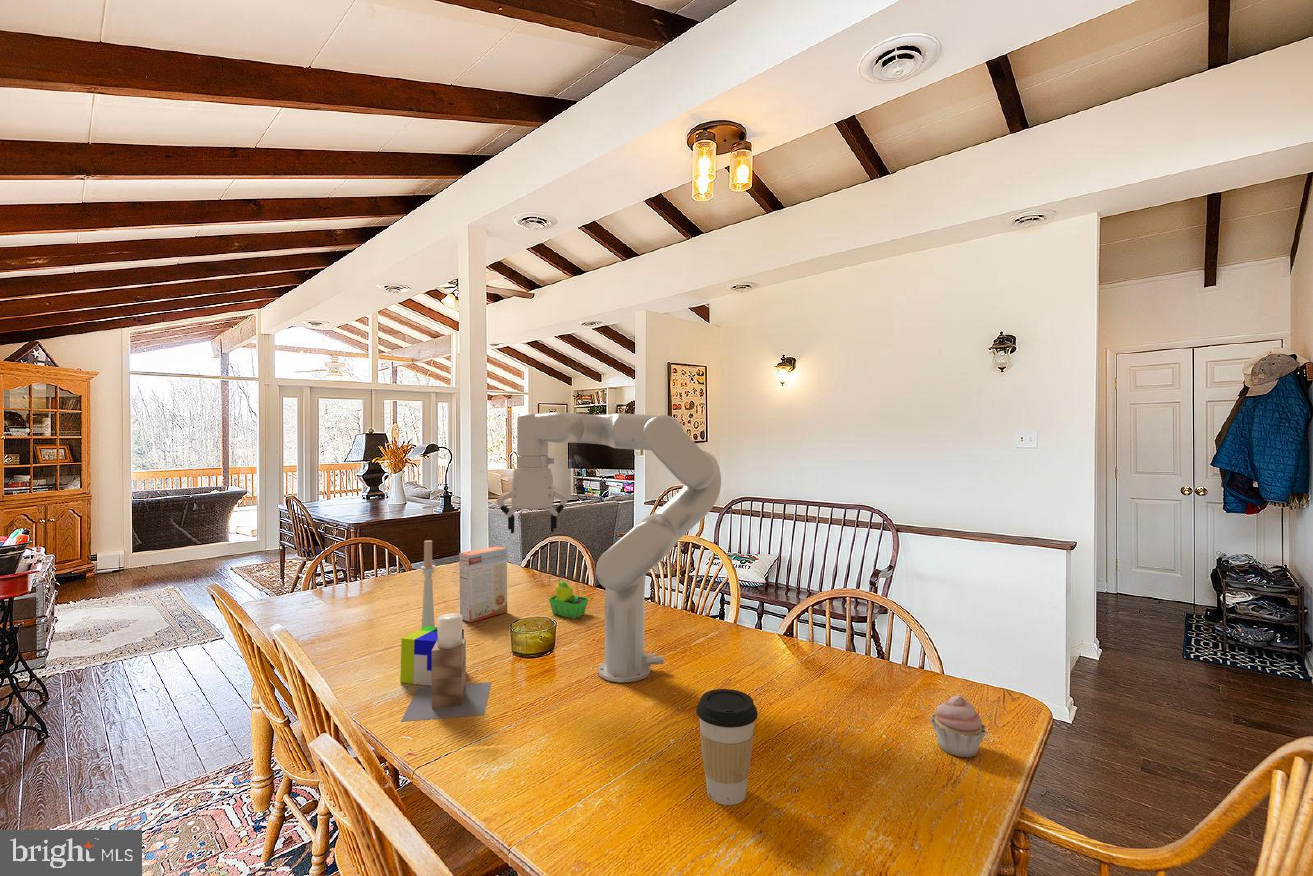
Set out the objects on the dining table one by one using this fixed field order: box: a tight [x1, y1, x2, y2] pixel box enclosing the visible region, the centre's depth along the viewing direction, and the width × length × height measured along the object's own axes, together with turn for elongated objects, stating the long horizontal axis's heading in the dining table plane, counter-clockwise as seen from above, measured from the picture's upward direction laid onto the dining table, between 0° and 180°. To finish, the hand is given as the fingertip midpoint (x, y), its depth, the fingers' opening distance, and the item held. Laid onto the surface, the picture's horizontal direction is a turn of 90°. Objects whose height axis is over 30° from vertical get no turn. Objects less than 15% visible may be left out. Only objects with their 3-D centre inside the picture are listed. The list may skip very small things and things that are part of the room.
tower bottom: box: [432, 666, 467, 708], centre depth 126 cm, size 6×6×6 cm
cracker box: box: [458, 545, 508, 623], centre depth 185 cm, size 14×6×21 cm, turn 140°
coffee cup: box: [695, 688, 759, 806], centre depth 94 cm, size 10×10×15 cm
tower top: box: [432, 638, 467, 679], centre depth 126 cm, size 6×6×6 cm
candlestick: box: [420, 539, 436, 629], centre depth 153 cm, size 13×13×30 cm
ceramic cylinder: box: [437, 612, 463, 649], centre depth 125 cm, size 5×5×6 cm
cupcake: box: [929, 695, 988, 759], centre depth 108 cm, size 9×9×10 cm
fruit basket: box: [548, 580, 590, 619], centre depth 187 cm, size 11×9×11 cm
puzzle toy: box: [399, 626, 465, 686], centre depth 138 cm, size 10×10×10 cm
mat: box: [400, 681, 492, 723], centre depth 126 cm, size 16×16×1 cm
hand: (532, 531), depth 145 cm, fingers open, 9 cm apart
